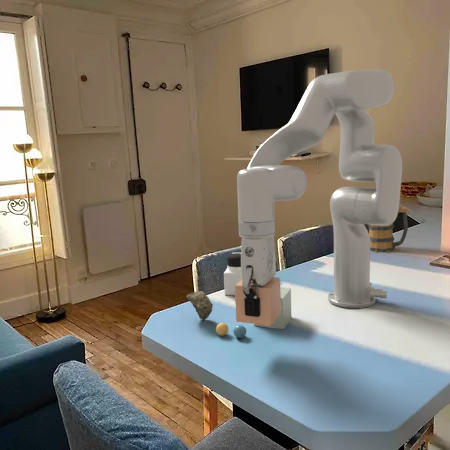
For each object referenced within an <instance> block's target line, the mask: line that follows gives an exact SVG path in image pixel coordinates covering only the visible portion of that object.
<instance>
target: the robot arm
mask: <svg viewBox="0 0 450 450" xmlns="http://www.w3.org/2000/svg"><path fill="white" fill-rule="evenodd" d="M394 91H395V82H394V79H393V77H392V74H390V72H388V71H387V70H384V69H383V68H382V69H359V70H357V69H354V70H353V69H351V70H346V71H339V72H334V73H327V74H321V75H318V76H317V77H315V78H313V79H312V80H311V81H310V82H309V84H308V85H307V88H306V89H305V91H304V93H303V95H302V96H301V99H300V101H299V102H298V105H297V107H296V109H295V111H294V112H293V114H292V116H291V118H290V120H289V121H288V123H287V124H285V125H284V126H282V127H281V128H280V129H278V130H277V131H276V132H275V133H273V134H272V135H271V136H270V137H268V139H266V140H265V141H264V142H263V143H262V144H260V145H259V147H258V149H257V150H256V151H255V153H254V154H253V156H252V158H251V160H250V161H249V163H248V166H247V168H244V169H240V170H239V171H238V173H237V175H236V188H237V191H236V194H237V216H238V218H237V219H238V220H237V221H238V236H239V237H240V238H241V243H240V244H241V248H240V251H241V252H240V253H241V278H242V288H243V292H244V303H245V315H246V316H253V317H259V316H260V298H258V294H259V287H260V285H261V286H264V285H266V284H267V283H268V282H269V281H270V280H271V279H272V278H273V277H276V275H277V274H276V273H277V263H276V261H277V260H276V247H275V239H274V236H275V235H276V226H275V225H276V223H275V220H276V219H275V218H276V217H275V202H276V201H278V202H279V201H285V202H289V201H294V200H298V199H300V198H301V197H302V196H303V195H304V194H305V192H306V190H307V186H308V178H307V175H306V173H305V172H304V171H303V169H301V168H300V167H298V166H294V165H285V164H284V165H281V164H282V163H283V162H284V161H285V160H287V159H288V158H290V157H293V156H294V155H297V154H299V153H301V152H304V151H307V150H308V149H310V148H312V147H314V146H317V145H318V144H320V142H322V140H323V139H324V136H325V135H326V133H327V130H328V129H329V126H330V124H331V122H332V120H333V119H334V117H335V116H336V117H337V120H338V122H339V126H340V141H339V143H340V145H339V157H338V172H339V175H340V178H342V180H343V179H344V181H349V182H358V183H359V182H360V183H375V187H366V186H342V187H339V188H337V189H336V190H335V191H334V192H333V193H332V194H331V196H330V200H329V209H330V215H331V219H332V228H333V290H332V291H331V292H330V293H328V296H327V299H328V301H329V302H330V303H331V304H333V305H335V306H338V307H342V308H347V309H363V308H367V307H370V306H372V305H375V304H376V298H380V299H387V298H388V291H386V290H384V288H374V287H373V285H372V282H370V281H371V280H370V278H371V276H370V275H371V251H370V236H369V230H368V228H367V227H366V225H379V226H387V225H390V224H392V223H393V224H394V222H395V221H396V219H397V217H398V214H399V212H398V209H399V208H400V201H401V200H400V199H401V198H400V196H401V189H402V188H401V187H402V176H403V159H402V155H401V153H400V151H399V149H398V148H397V147H396V146H395V145H392V144H375V123H374V119H372V117H371V115H370V114H369V112H368V111H367V110H366V109H372V108H373V109H374V108H377V107H383V106H385V105H388V103H389V102H390V101H391V99H392V98H393V95H394ZM251 281H256V282H257V283H251ZM251 286H254V287H255V292H254V290H253V289H252V288H251Z"/></svg>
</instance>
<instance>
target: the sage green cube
mask: <svg viewBox="0 0 450 450" xmlns="http://www.w3.org/2000/svg"><path fill="white" fill-rule="evenodd" d="M280 293H281V313H280V314H279V316H278V317H277V318H276V320H275V321H274V322H273V324H272V325H271V326H267V325H259V324H253V326H255V327H264V328H272V329H280V330H281V329H282V330H284V329H285V328H286V327H287V325H288V323H289V321H290V320H291V318H292V289H291V287H281V286H280Z"/></svg>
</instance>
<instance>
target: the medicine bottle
mask: <svg viewBox="0 0 450 450" xmlns="http://www.w3.org/2000/svg"><path fill="white" fill-rule="evenodd" d="M226 265H227V266H226V267H227V268H226V269H225V271H224V272H223V285H224V287H223V288H224V296H235V285H236V284H237V283H238V282H240V281H241V280H242V278H241V252H231V253H229V254H227V255H226Z"/></svg>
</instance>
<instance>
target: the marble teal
mask: <svg viewBox="0 0 450 450" xmlns="http://www.w3.org/2000/svg"><path fill="white" fill-rule="evenodd" d="M246 334H247V328H246V327H245V326H244V325H241V324H238V325H236V326H235V327H234V328H233V335H234V336H235V337H236V338H237V339H243V338H244V337H246Z"/></svg>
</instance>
